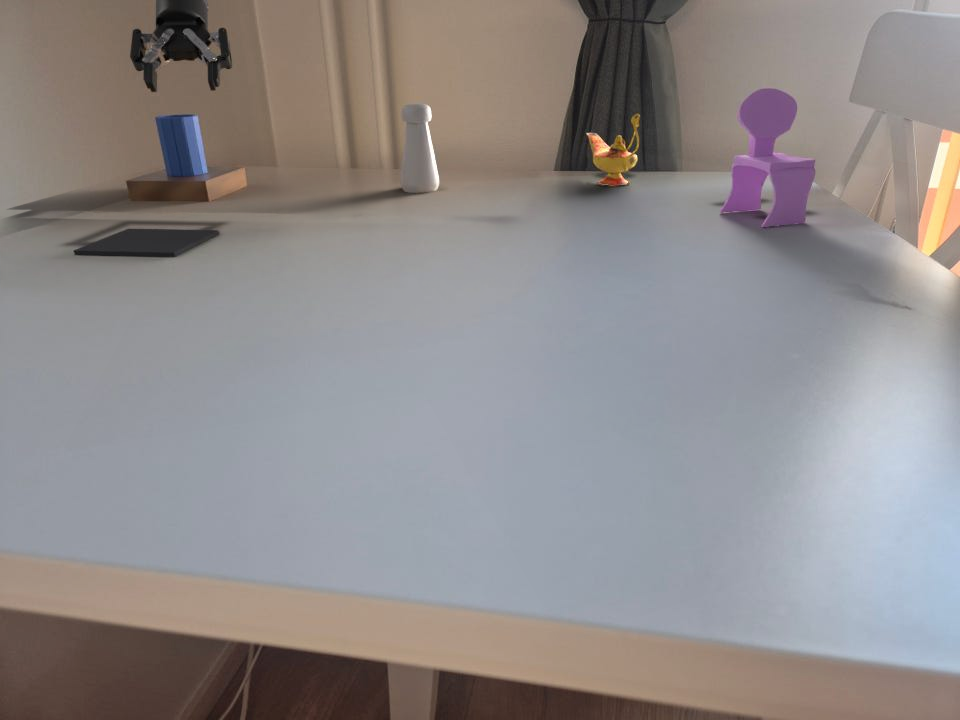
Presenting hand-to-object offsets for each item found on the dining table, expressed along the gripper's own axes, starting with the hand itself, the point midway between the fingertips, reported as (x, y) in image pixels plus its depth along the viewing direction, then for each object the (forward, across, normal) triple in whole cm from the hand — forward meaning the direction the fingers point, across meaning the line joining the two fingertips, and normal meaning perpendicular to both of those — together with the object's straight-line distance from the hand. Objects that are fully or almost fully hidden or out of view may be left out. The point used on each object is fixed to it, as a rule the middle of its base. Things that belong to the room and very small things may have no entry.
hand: (182, 87), depth 102 cm
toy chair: (+40, +73, -18) cm, 85 cm away
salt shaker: (+22, +33, 0) cm, 40 cm away
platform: (+16, 0, +5) cm, 17 cm away
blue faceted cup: (+14, 0, +3) cm, 14 cm away
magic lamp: (+19, +64, +3) cm, 67 cm away
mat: (+34, 0, -12) cm, 37 cm away
